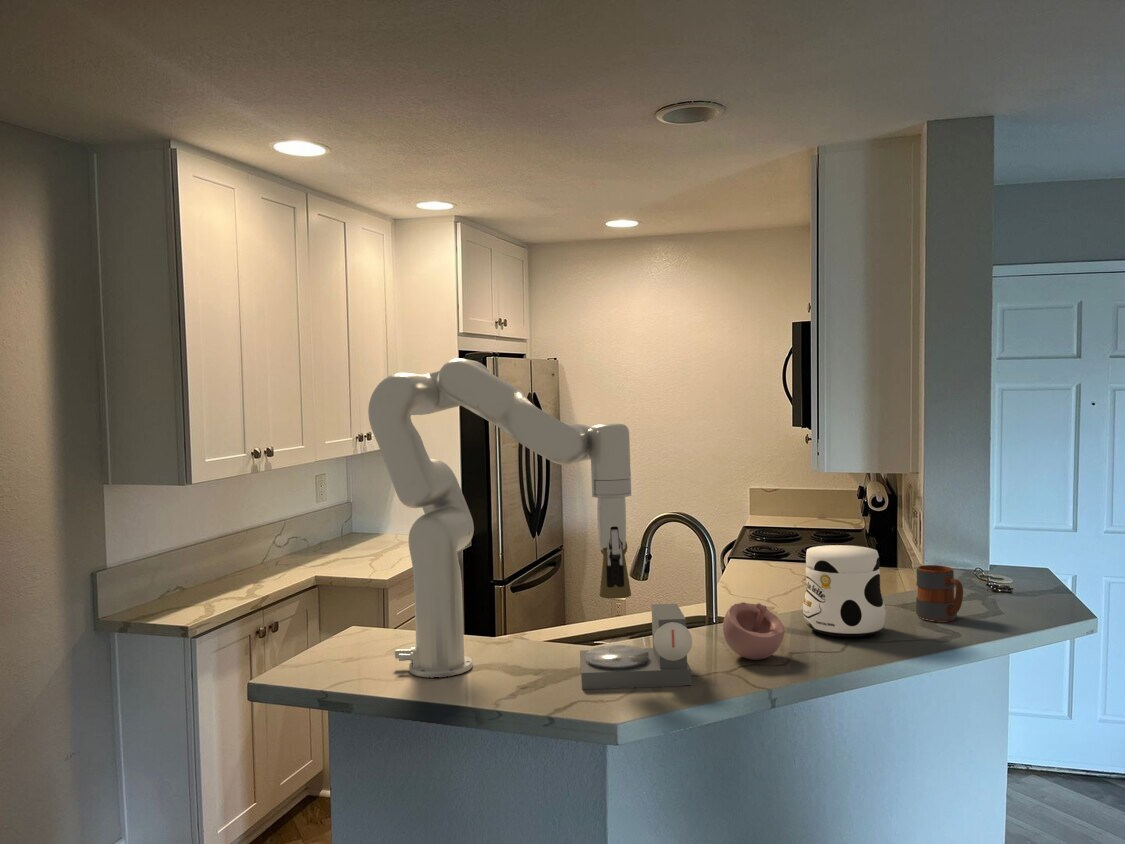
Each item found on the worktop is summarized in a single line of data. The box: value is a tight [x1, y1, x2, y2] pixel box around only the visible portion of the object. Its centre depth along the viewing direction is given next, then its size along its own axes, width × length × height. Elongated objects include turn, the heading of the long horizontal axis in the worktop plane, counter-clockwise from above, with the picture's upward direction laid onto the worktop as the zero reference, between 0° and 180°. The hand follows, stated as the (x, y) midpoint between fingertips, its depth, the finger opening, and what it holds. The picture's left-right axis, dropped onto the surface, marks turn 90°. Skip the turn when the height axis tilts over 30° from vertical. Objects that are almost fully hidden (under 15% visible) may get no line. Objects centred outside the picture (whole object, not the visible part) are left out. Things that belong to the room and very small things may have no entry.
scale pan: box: [586, 644, 649, 669], centre depth 155 cm, size 12×12×1 cm
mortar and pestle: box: [722, 601, 786, 661], centre depth 163 cm, size 12×12×12 cm
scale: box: [579, 603, 693, 690], centre depth 155 cm, size 20×14×12 cm
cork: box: [599, 541, 632, 600], centre depth 155 cm, size 6×6×11 cm
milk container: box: [802, 544, 887, 638], centre depth 180 cm, size 17×17×18 cm
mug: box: [915, 564, 964, 622], centre depth 187 cm, size 9×12×12 cm
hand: (614, 583), depth 155 cm, fingers closed on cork, 4 cm apart
